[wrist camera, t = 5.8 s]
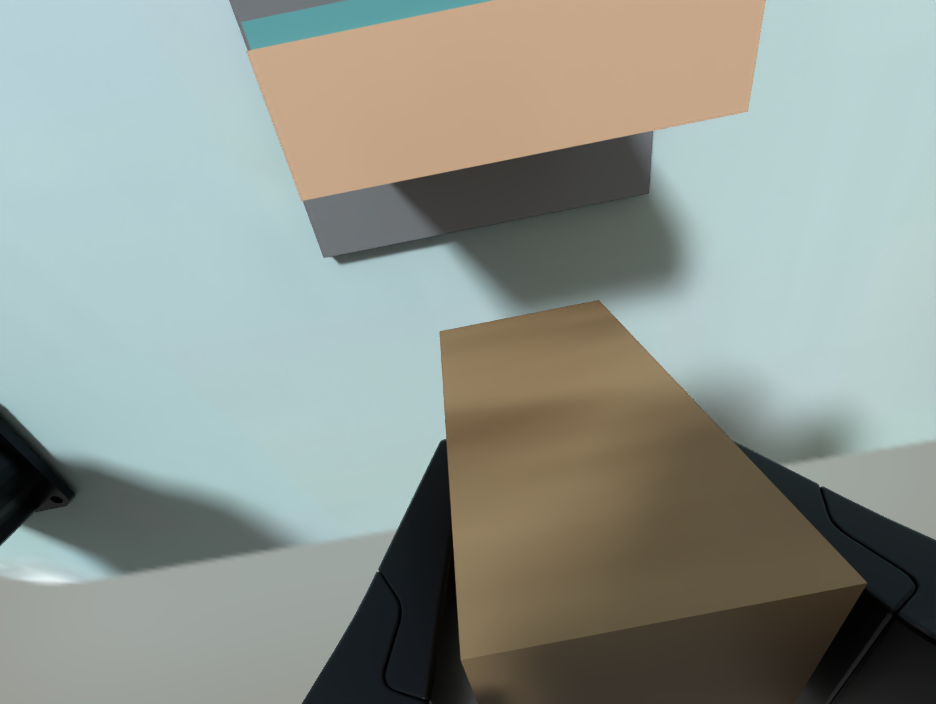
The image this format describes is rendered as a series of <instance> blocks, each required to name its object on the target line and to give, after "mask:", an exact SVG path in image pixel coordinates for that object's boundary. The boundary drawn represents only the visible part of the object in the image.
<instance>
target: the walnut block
mask: <svg viewBox="0 0 936 704" xmlns="http://www.w3.org/2000/svg"><path fill="white" fill-rule="evenodd" d="M440 346H441V362H442V377H443V393H444V408H445V424H446V439H447V455H448V471H449V486H450V502H451V517H452V533H453V548H454V564H455V580H456V595H457V611H458V626H459V642H460V657H461V662H462V665H463V667H464V670H465V672H466V675H467V677H468V680H469V682H470V685H471V687H472V690H473V692H474V695H475V697H476V700H477V703H478V704H794V703H795V701H796V700H797V698H798V696H799V695H800V693H801V692H802V690H803V688H804V687H805V685H806V683H807V682H808V680H809V678H810V677H811V675H812V673H813V672H814V670H815V669H816V667H817V665H818V664H819V662H820V660H821V659H822V657H823V655H824V654H825V652H826V650H827V649H828V647H829V646H830V644H831V642H832V641H833V639H834V637H835V636H836V634H837V632H838V631H839V629H840V627H841V626H842V624H843V623H844V621H845V619H846V618H847V616H848V614H849V613H850V611H851V609H852V608H853V606H854V605H855V603H856V601H857V600H858V598H859V596H860V595H861V593H862V591H863V590H864V588H865V586H866V585H867V582H866V581H865V580H864V579H863V578H862V577H861V576H860V575H859V574H858V572H857V571H856V570H855V569H854V568H853V567H852V566H851V565H850V564H849V563H848V562H847V561H846V560H845V559H844V558H843V557H842V556H841V555H840V554H839V552H838V551H837V550H836V549H835V548H834V547H833V546H832V545H831V544H830V543H829V542H828V541H827V540H826V539H825V538H824V537H823V536H822V535H821V534H820V532H819V531H818V530H817V529H816V528H815V527H814V526H813V525H812V524H811V523H810V522H809V521H808V520H807V519H806V518H805V517H804V516H803V515H802V514H801V512H800V511H799V510H798V509H797V508H796V507H795V506H794V505H793V504H792V503H791V502H790V501H789V500H788V499H787V498H786V497H785V496H784V495H783V494H782V492H781V491H780V490H779V489H778V488H777V487H776V486H775V485H774V484H773V483H772V482H771V481H770V480H769V479H768V478H767V477H766V476H765V475H764V474H763V472H762V471H761V470H760V469H759V468H758V467H757V466H756V465H755V464H754V463H753V462H752V461H751V460H750V459H749V458H748V457H747V456H746V455H745V454H744V452H743V451H742V450H741V449H740V448H739V447H738V446H737V445H736V444H735V443H734V442H733V441H732V440H731V439H730V438H729V437H728V436H727V435H726V434H725V432H724V431H723V430H722V429H721V428H720V427H719V426H718V425H717V424H716V423H715V422H714V421H713V420H712V419H711V418H710V417H709V416H708V415H707V414H706V413H705V411H704V410H703V409H702V408H701V407H700V406H699V405H698V404H697V403H696V402H695V401H694V400H693V399H692V398H691V397H690V396H689V395H688V394H687V393H686V391H685V390H684V389H683V388H682V387H681V386H680V385H679V384H678V383H677V382H676V381H675V380H674V379H673V378H672V377H671V376H670V375H669V374H668V373H667V371H666V370H665V369H664V368H663V367H662V366H661V365H660V364H659V363H658V362H657V361H656V360H655V359H654V358H653V357H652V356H651V355H650V354H649V353H648V351H647V350H646V349H645V348H644V347H643V346H642V345H641V344H640V343H639V342H638V341H637V340H636V339H635V338H634V337H633V336H632V335H631V334H630V333H629V331H628V330H627V329H626V328H625V327H624V326H623V325H622V324H621V323H620V322H619V321H618V320H617V319H616V318H615V317H614V316H613V315H612V314H611V313H610V311H609V310H608V309H607V308H606V307H605V306H604V305H603V304H602V303H601V302H600V301H599V300H597V301H592V302H587V303H582V304H577V305H572V306H566V307H561V308H556V309H551V310H546V311H541V312H536V313H531V314H526V315H521V316H516V317H511V318H505V319H500V320H495V321H490V322H485V323H480V324H475V325H470V326H465V327H460V328H455V329H450V330H445V331H440Z"/></svg>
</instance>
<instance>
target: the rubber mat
mask: <svg viewBox="0 0 936 704" xmlns="http://www.w3.org/2000/svg"><path fill="white" fill-rule="evenodd" d="M229 1H230V3H231V6H232V9H233V12H234V14H235V17H236V20H237V23H238V25H239V28H240V31H241V33H242V36H243V39H244V42H245V44H246V47H247V50H248V51H249V50H251V48H250V45H249V43H248V40H247V37H246V34H245V32H244V29H243V26H242V23H241V22H244V21H249V20H254V19H259V18H264V17H268V16H273V15H278V14H283V13H288V12H293V11H298V10H302V9H307V8H312V7H317V6H322V5H327V4H332V3H336V2H341V1H346V0H229ZM651 149H652V131H648V132H643V133H638V134H633V135H629V136H624V137H619V138H614V139H609V140H604V141H599V142H594V143H589V144H584V145H579V146H574V147H569V148H564V149H559V150H554V151H549V152H544V153H539V154H534V155H529V156H524V157H519V158H514V159H509V160H504V161H499V162H494V163H489V164H484V165H479V166H474V167H469V168H464V169H459V170H454V171H449V172H444V173H439V174H434V175H429V176H424V177H419V178H414V179H409V180H404V181H399V182H394V183H389V184H384V185H379V186H374V187H369V188H364V189H359V190H354V191H349V192H344V193H339V194H334V195H329V196H324V197H319V198H314V199H309V200H304V201H303V203H304V205H305V208H306V211H307V213H308V216H309V219H310V222H311V224H312V227H313V230H314V233H315V235H316V238H317V241H318V243H319V246H320V249H321V252H322V254H323V257H324V258H326V257H331V256H336V255H341V254H346V253H351V252H356V251H361V250H366V249H372V248H377V247H382V246H387V245H392V244H397V243H402V242H407V241H412V240H417V239H422V238H427V237H432V236H437V235H442V234H447V233H452V232H457V231H462V230H467V229H472V228H477V227H482V226H487V225H492V224H497V223H502V222H507V221H512V220H517V219H522V218H527V217H533V216H538V215H543V214H548V213H553V212H558V211H563V210H568V209H573V208H578V207H583V206H588V205H593V204H598V203H603V202H608V201H613V200H618V199H623V198H628V197H633V196H638V195H643V194H648V193H649V185H650V167H651Z"/></svg>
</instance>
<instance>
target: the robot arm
mask: <svg viewBox="0 0 936 704" xmlns="http://www.w3.org/2000/svg"><path fill="white" fill-rule="evenodd" d="M733 442H734V441H733ZM734 443H735V444H736V445H737V446H738V447H739V448H740V449H741V450H742V451H743V452H744V454H745V455H746V456H747V457H748V458H749V459H750V460H751V461H752V462H753V463H754V464H755V465H756V466H757V467H758V468H759V469H760V470H761V471H762V472H763V474H764V475H765V476H766V477H767V478H768V479H769V480H770V481H771V482H772V483H773V484H774V485H775V486H776V487H777V488H778V489H779V490H780V491H781V492H782V494H783V495H784V496H785V497H786V498H787V499H788V500H789V501H790V502H791V503H792V504H793V505H794V506H795V507H796V508H797V509H798V510H799V511H800V512H801V514H802V515H803V516H804V517H805V518H806V519H807V520H808V521H809V522H810V523H811V524H812V525H813V526H814V527H815V528H816V529H817V530H818V531H819V532H820V534H821V535H822V536H823V537H824V538H825V539H826V540H827V541H828V542H829V543H830V544H831V545H832V546H833V547H834V548H835V549H836V550H837V551H838V552H839V554H840V555H841V556H842V557H843V558H844V559H845V560H846V561H847V562H848V563H849V564H850V565H851V566H852V567H853V568H854V569H855V570H856V571H857V572H858V574H859V575H860V576H861V577H862V578H863V579H864V580H865V581H866V582H867V585H866V586H865V588H864V590H863V591H862V593H861V595H860V596H859V598H858V600H857V601H856V603H855V605H854V606H853V608H852V609H851V611H850V613H849V614H848V616H847V618H846V619H845V621H844V623H843V624H842V626H841V627H840V629H839V631H838V632H837V634H836V636H835V637H834V639H833V641H832V642H831V644H830V646H829V647H828V649H827V650H826V652H825V654H824V655H823V657H822V659H821V660H820V662H819V664H818V665H817V667H816V669H815V670H814V672H813V673H812V675H811V677H810V678H809V680H808V682H807V683H806V685H805V687H804V688H803V690H802V692H801V693H800V695H799V696H798V698H797V700H796V701H795V703H794V704H936V540H935V539H932V538H930V537H928V536H925V535H923V534H921V533H919V532H917V531H914V530H912V529H910V528H908V527H906V526H903V525H901V524H899V523H897V522H894V521H892V520H890V519H888V518H886V517H884V516H882V515H879V514H877V513H875V512H873V511H871V510H869V509H867V508H865V507H863V506H861V505H859V504H857V503H855V502H853V501H851V500H849V499H847V498H845V497H843V496H841V495H839V494H837V493H835V492H833V491H831V490H829V489H827V488H825V487H819V485H818V484H817V483H815V482H813V481H811V480H809V479H807V478H805V477H803V476H801V475H799V474H797V473H795V472H793V471H791V470H789V469H787V468H786V467H784V466H782V465H780V464H778V463H776V462H774V461H772V460H770V459H768V458H766V457H764V456H762V455H760V454H758V453H756V452H754V451H752V450H750V449H748V448H746V447H744V446H742V445H740V444H738V443H736V442H734ZM74 497H75V493H74V492H73V490H72V489H71V488H70V487H69V486H68V485H67V484H66V483H65V482H64V481H63V480H62V479H61V478H60V477H58V476H57V475H56V474H55V473H54V472H53V471H52V470H51V469H50V468H49V467H48V466H47V465H46V464H45V463H44V462H43V461H42V460H41V459H40V458H39V457H38V456H37V455H36V454H35V453H34V452H33V451H32V450H31V449H30V448H29V447H28V446H27V445H26V444H25V443H24V442H23V441H22V440H21V439H20V438H19V437H18V436H17V435H16V434H15V433H14V432H13V431H12V430H11V429H10V428H9V427H8V426H7V425H6V424H5V423H4V422H3V421H2V420H1V419H0V546H1V545H2V544H3V543H4V542H5V541H6V540H7V539H8V538H9V537H10V536H11V535H12V534H13V533H14V532H15V531H16V530H17V529H18V528H19V527H20V526H21V525H22V524H23V523H24V522H25V521H26V520H27V519H28V518H29V517H30V516H31V515H32V514H33V513H34V512H38V511H43V510H48V509H54V508H59V507H64V506H67V505H68V504H69V503H70V502H71V501H72V499H73V498H74ZM378 570H379V572H376V574H375V576H374V579H373V581H372V583H371V585H370V587H369V589H368V591H367V593H366V595H365V597H364V598H363V600H362V602H361V604H360V606H359V608H358V610H357V612H356V614H355V616H354V618H353V620H352V621H351V623H350V625H349V626H348V628H347V630H346V632H345V633H344V635H343V637H342V638H341V640H340V642H339V643H338V645H337V647H336V649H335V650H334V652H333V653H332V655H331V657H330V658H329V660H328V662H327V663H326V665H325V667H324V669H323V670H322V672H321V673H320V675H319V677H318V678H317V680H316V681H315V683H314V685H313V686H312V688H311V690H310V691H309V693H308V694H307V696H306V698H305V699H304V701H303V703H302V704H478V703H477V700H476V697H475V695H474V692H473V690H472V687H471V685H470V682H469V680H468V677H467V675H466V672H465V670H464V667H463V665H462V662H461V657H460V642H459V626H458V611H457V595H456V580H455V564H454V548H453V533H452V517H451V502H450V486H449V471H448V455H447V439H444V440H442V441H440V443H439V445H438V447H437V449H436V451H435V453H434V455H433V457H432V459H431V461H430V463H429V466H428V468H427V470H426V472H425V474H424V476H423V478H422V480H421V482H420V484H419V486H418V488H417V490H416V492H415V494H414V496H413V498H412V501H411V503H410V505H409V507H408V509H407V511H406V513H405V515H404V517H403V519H402V521H401V523H400V525H399V527H398V529H397V531H396V533H395V535H394V538H393V540H392V542H391V544H390V546H389V548H388V550H387V552H386V554H385V556H384V558H383V560H382V562H381V564H380V566H379V569H378Z"/></svg>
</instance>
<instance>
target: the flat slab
mask: <svg viewBox="0 0 936 704" xmlns="http://www.w3.org/2000/svg"><path fill="white" fill-rule="evenodd" d="M765 1H766V0H346V1H341V2H336V3H332V4H327V5H322V6H317V7H312V8H307V9H302V10H298V11H293V12H288V13H283V14H278V15H273V16H268V17H264V18H259V19H254V20H249V21H244V22H241V23H242V26H243V29H244V32H245V34H246V37H247V40H248V43H249V45H250V48H251V50H249V51H246V52H247V54H248V57H249V60H250V62H251V65H252V68H253V71H254V73H255V76H256V79H257V81H258V84H259V87H260V90H261V92H262V95H263V98H264V100H265V103H266V106H267V109H268V111H269V114H270V117H271V119H272V122H273V125H274V128H275V130H276V133H277V136H278V138H279V141H280V144H281V147H282V149H283V152H284V155H285V157H286V160H287V163H288V166H289V168H290V171H291V174H292V176H293V179H294V182H295V185H296V187H297V190H298V193H299V195H300V198H301V201H304V200H309V199H314V198H319V197H324V196H329V195H334V194H339V193H344V192H349V191H354V190H359V189H364V188H369V187H374V186H379V185H384V184H389V183H394V182H399V181H404V180H409V179H414V178H419V177H424V176H429V175H434V174H439V173H444V172H449V171H454V170H459V169H464V168H469V167H474V166H479V165H484V164H489V163H494V162H499V161H504V160H509V159H514V158H519V157H524V156H529V155H534V154H539V153H544V152H549V151H554V150H559V149H564V148H569V147H574V146H579V145H584V144H589V143H594V142H599V141H604V140H609V139H614V138H619V137H624V136H629V135H633V134H638V133H643V132H648V131H653V130H658V129H663V128H668V127H673V126H678V125H683V124H688V123H693V122H698V121H703V120H708V119H713V118H718V117H723V116H728V115H733V114H738V113H743V112H748V107H749V101H750V95H751V89H752V82H753V76H754V70H755V64H756V57H757V51H758V45H759V39H760V32H761V26H762V20H763V14H764V7H765Z"/></svg>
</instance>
